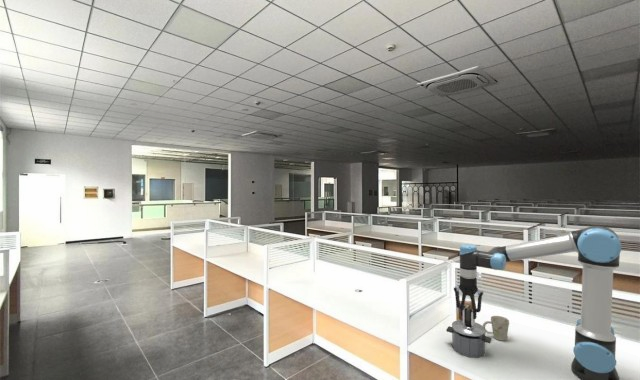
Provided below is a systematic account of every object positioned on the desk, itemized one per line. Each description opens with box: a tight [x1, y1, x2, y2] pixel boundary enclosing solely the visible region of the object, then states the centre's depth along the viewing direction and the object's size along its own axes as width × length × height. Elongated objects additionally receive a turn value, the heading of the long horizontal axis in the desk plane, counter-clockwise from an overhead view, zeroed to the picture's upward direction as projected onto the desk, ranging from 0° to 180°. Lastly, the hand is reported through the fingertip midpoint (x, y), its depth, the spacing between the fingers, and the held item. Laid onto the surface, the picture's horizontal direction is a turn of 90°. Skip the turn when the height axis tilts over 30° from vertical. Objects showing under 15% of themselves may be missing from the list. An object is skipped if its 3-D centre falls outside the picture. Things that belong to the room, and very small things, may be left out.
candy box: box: [455, 300, 476, 322], centre depth 169 cm, size 9×4×15 cm, turn 85°
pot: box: [445, 325, 493, 359], centre depth 148 cm, size 20×14×9 cm
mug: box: [482, 315, 510, 342], centre depth 159 cm, size 8×13×10 cm, turn 78°
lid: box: [451, 308, 487, 337], centre depth 148 cm, size 15×15×10 cm
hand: (468, 323), depth 148 cm, fingers closed on lid, 3 cm apart
